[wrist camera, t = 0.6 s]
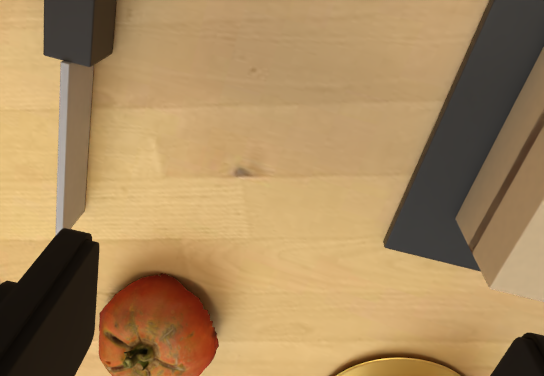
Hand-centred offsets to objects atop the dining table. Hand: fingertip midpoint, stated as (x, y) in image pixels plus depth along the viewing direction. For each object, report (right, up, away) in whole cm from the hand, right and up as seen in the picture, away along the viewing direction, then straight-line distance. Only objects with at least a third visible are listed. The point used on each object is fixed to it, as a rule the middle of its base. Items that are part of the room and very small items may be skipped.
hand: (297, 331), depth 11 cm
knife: (-10, +9, +14) cm, 20 cm away
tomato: (-8, -6, +22) cm, 24 cm away
